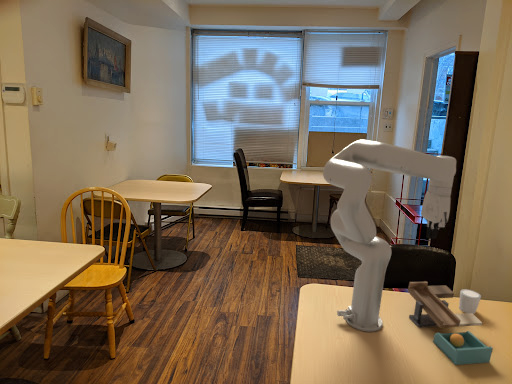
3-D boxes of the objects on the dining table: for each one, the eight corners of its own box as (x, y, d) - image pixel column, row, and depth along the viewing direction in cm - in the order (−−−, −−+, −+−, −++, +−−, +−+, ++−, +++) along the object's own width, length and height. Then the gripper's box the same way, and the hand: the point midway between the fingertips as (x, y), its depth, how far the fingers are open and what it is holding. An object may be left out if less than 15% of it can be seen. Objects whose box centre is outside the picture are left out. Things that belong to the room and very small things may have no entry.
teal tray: (455, 364, 111) (458, 350, 110) (433, 341, 121) (435, 328, 120) (489, 362, 113) (492, 348, 111) (464, 339, 123) (467, 326, 122)
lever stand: (418, 327, 129) (421, 307, 127) (408, 317, 134) (412, 298, 133) (449, 325, 131) (453, 306, 129) (438, 315, 136) (442, 297, 135)
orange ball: (457, 341, 115) (449, 331, 119) (452, 350, 117) (445, 339, 121) (468, 341, 116) (461, 330, 119) (464, 349, 118) (456, 338, 121)
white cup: (480, 316, 138) (484, 299, 136) (460, 313, 139) (463, 296, 137) (473, 306, 144) (477, 290, 142) (454, 303, 145) (458, 287, 144)
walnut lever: (439, 327, 121) (442, 317, 120) (407, 291, 140) (409, 282, 139) (481, 325, 124) (484, 315, 123) (444, 289, 142) (447, 280, 141)
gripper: (418, 185, 140) (410, 231, 145) (443, 195, 126) (434, 246, 130) (436, 185, 141) (428, 231, 146) (463, 195, 127) (453, 245, 132)
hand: (431, 238), depth 138 cm, fingers closed
